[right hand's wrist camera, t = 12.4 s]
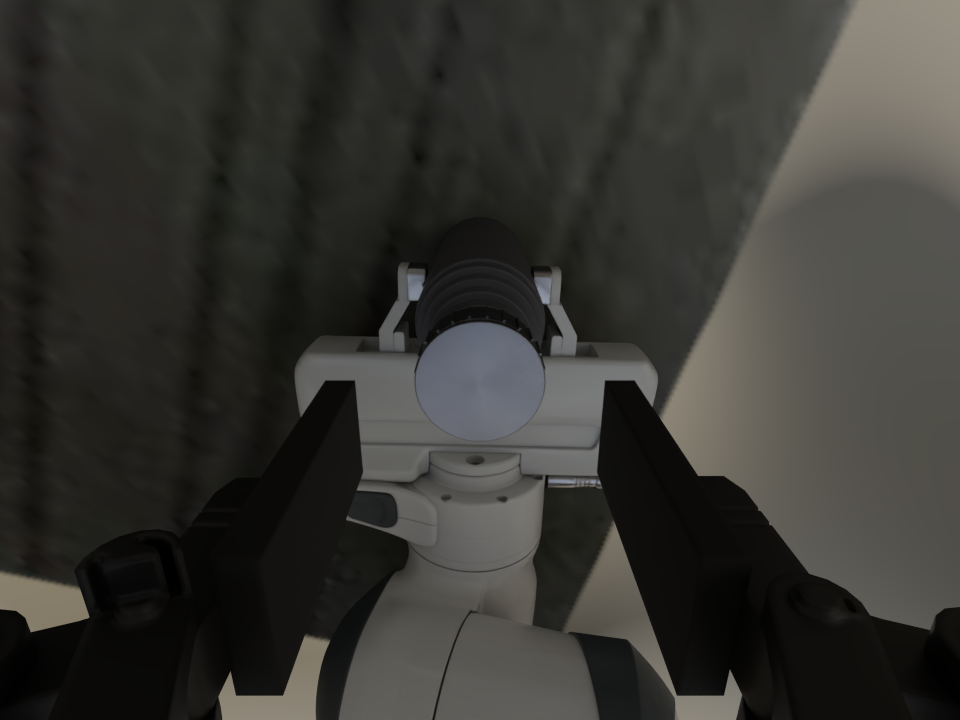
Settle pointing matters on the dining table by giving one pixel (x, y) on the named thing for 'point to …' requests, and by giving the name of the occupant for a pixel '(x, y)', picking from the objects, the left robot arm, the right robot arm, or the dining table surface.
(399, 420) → the left robot arm
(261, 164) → the dining table surface
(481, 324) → the cap
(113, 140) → the dining table surface
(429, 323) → the bottle
